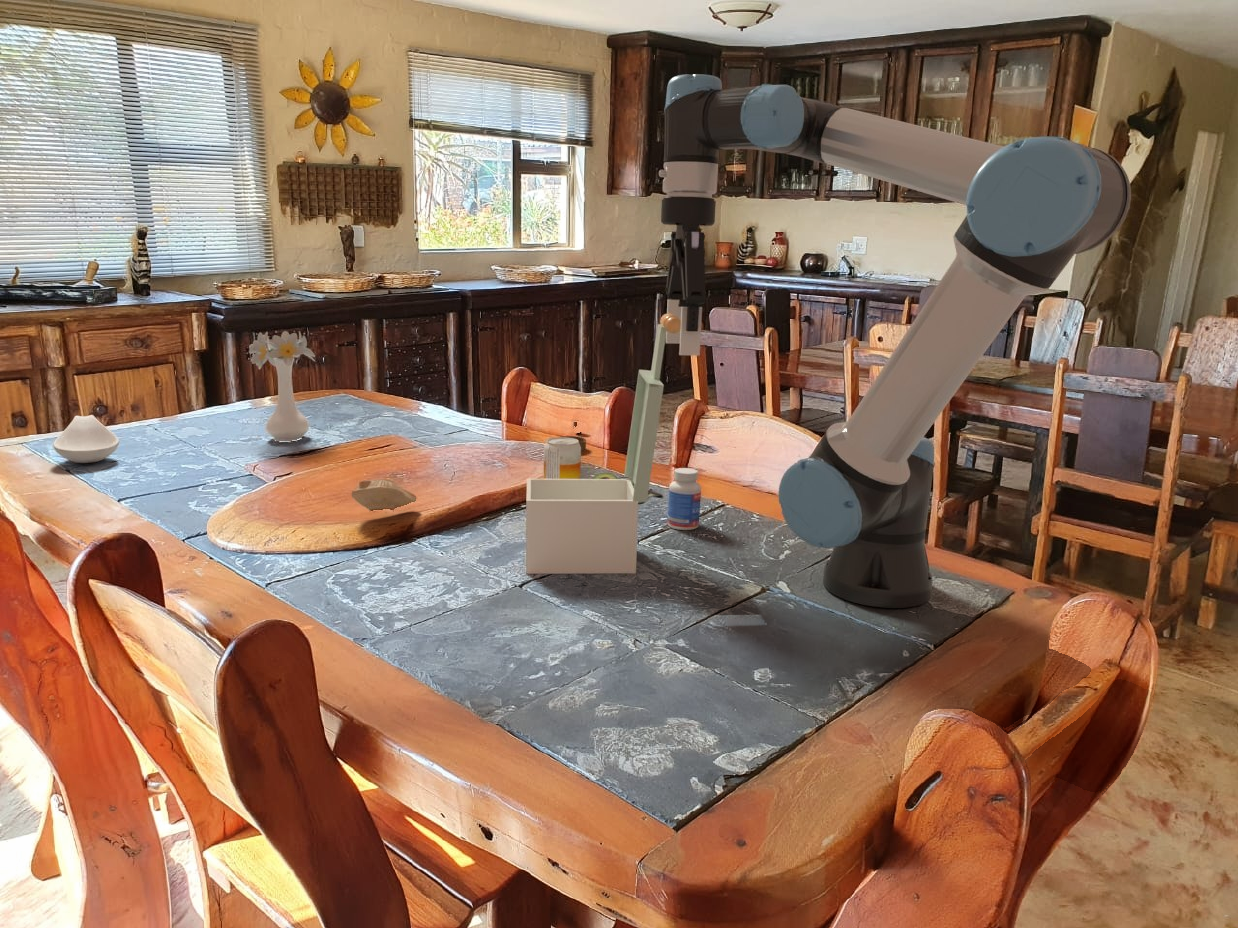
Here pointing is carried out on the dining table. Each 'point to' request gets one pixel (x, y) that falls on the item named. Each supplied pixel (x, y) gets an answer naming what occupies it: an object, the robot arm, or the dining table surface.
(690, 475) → the pill bottle
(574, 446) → the beer can
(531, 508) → the tub
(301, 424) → the flower vase
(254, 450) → the dining table surface
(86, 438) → the spoon rest
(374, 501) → the pottery oil lamp
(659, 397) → the lid
